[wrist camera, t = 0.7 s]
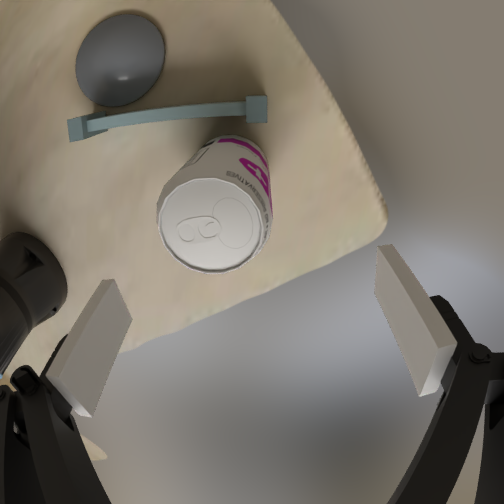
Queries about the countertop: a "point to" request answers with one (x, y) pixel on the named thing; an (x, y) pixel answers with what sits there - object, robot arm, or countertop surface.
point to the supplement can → (217, 206)
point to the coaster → (120, 60)
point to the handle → (167, 115)
